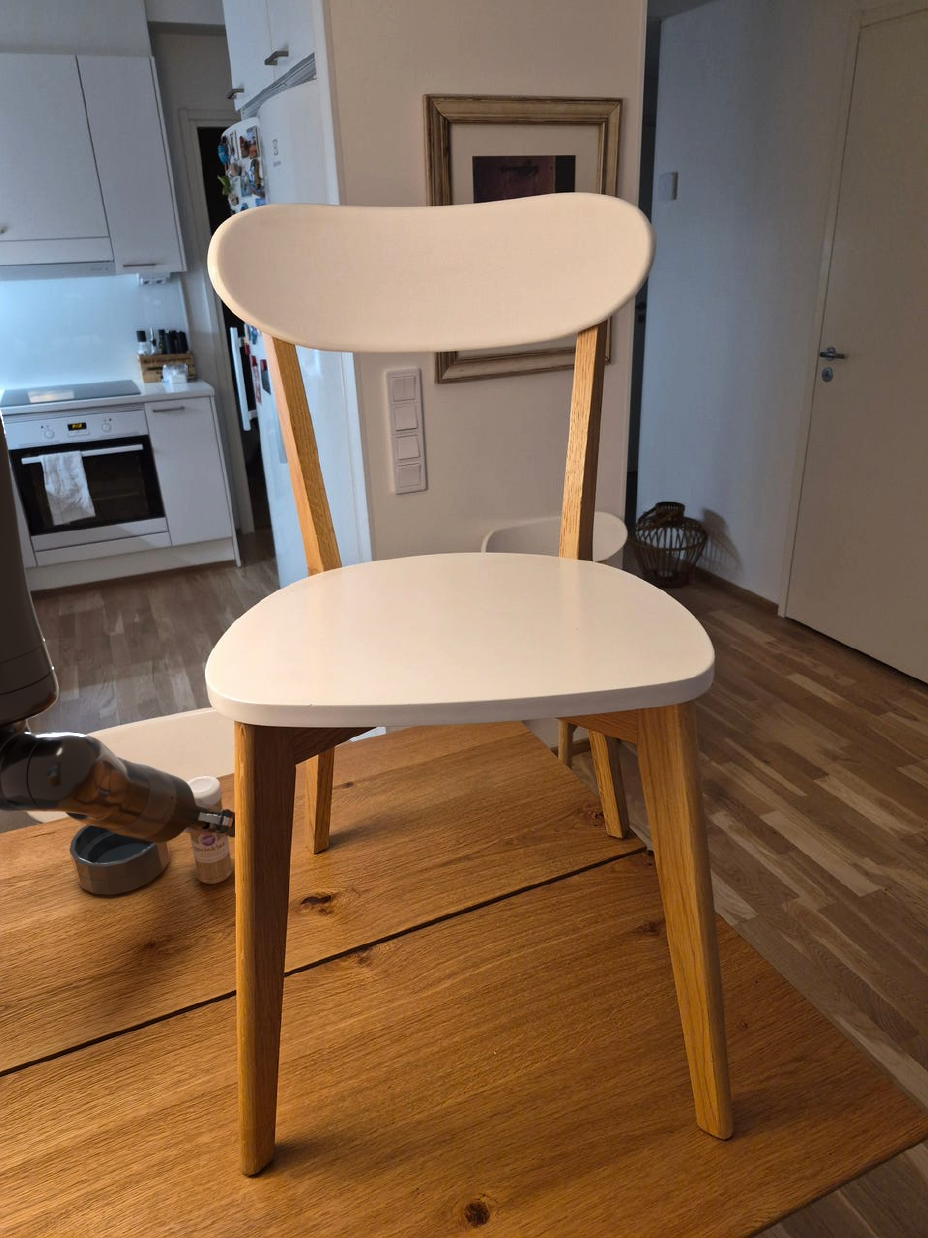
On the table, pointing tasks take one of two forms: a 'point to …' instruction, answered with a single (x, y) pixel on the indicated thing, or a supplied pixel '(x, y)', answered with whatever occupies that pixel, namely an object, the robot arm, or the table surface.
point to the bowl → (115, 860)
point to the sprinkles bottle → (213, 848)
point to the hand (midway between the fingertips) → (216, 825)
